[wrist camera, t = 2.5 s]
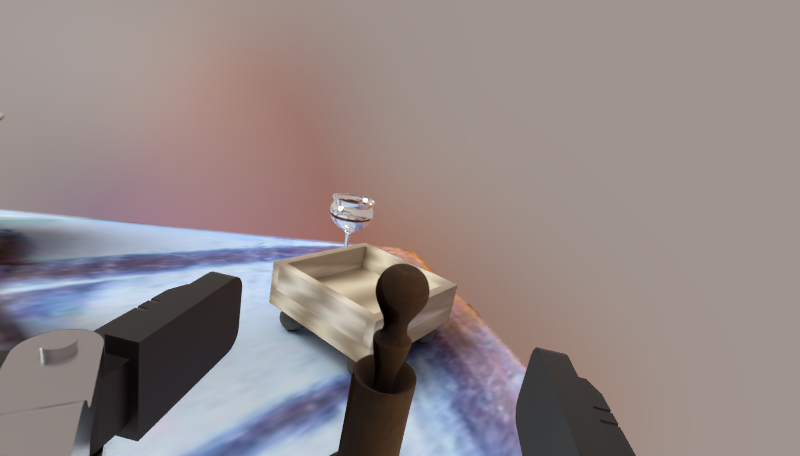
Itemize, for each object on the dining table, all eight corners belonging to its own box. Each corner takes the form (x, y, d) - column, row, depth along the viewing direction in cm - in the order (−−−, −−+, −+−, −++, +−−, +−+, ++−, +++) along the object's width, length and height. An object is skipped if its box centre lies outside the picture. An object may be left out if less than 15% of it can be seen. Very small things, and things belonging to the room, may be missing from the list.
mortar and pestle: (383, 462, 31) (431, 248, 26) (420, 545, 26) (490, 294, 21) (297, 481, 28) (334, 244, 23) (318, 580, 23) (372, 297, 18)
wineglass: (370, 276, 65) (383, 205, 62) (332, 280, 61) (344, 204, 58) (350, 260, 70) (361, 193, 67) (314, 262, 66) (324, 192, 63)
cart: (266, 325, 46) (273, 261, 44) (356, 294, 58) (365, 242, 56) (360, 396, 38) (375, 321, 36) (442, 343, 50) (457, 284, 48)
